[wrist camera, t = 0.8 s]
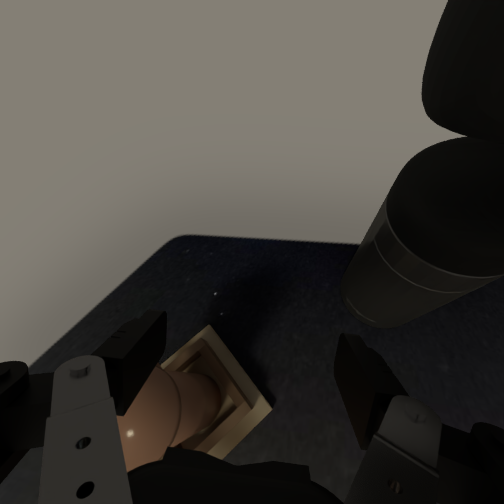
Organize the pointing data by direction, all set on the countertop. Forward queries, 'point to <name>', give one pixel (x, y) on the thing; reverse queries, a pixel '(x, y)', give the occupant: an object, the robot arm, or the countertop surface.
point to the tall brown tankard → (167, 414)
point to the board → (232, 393)
